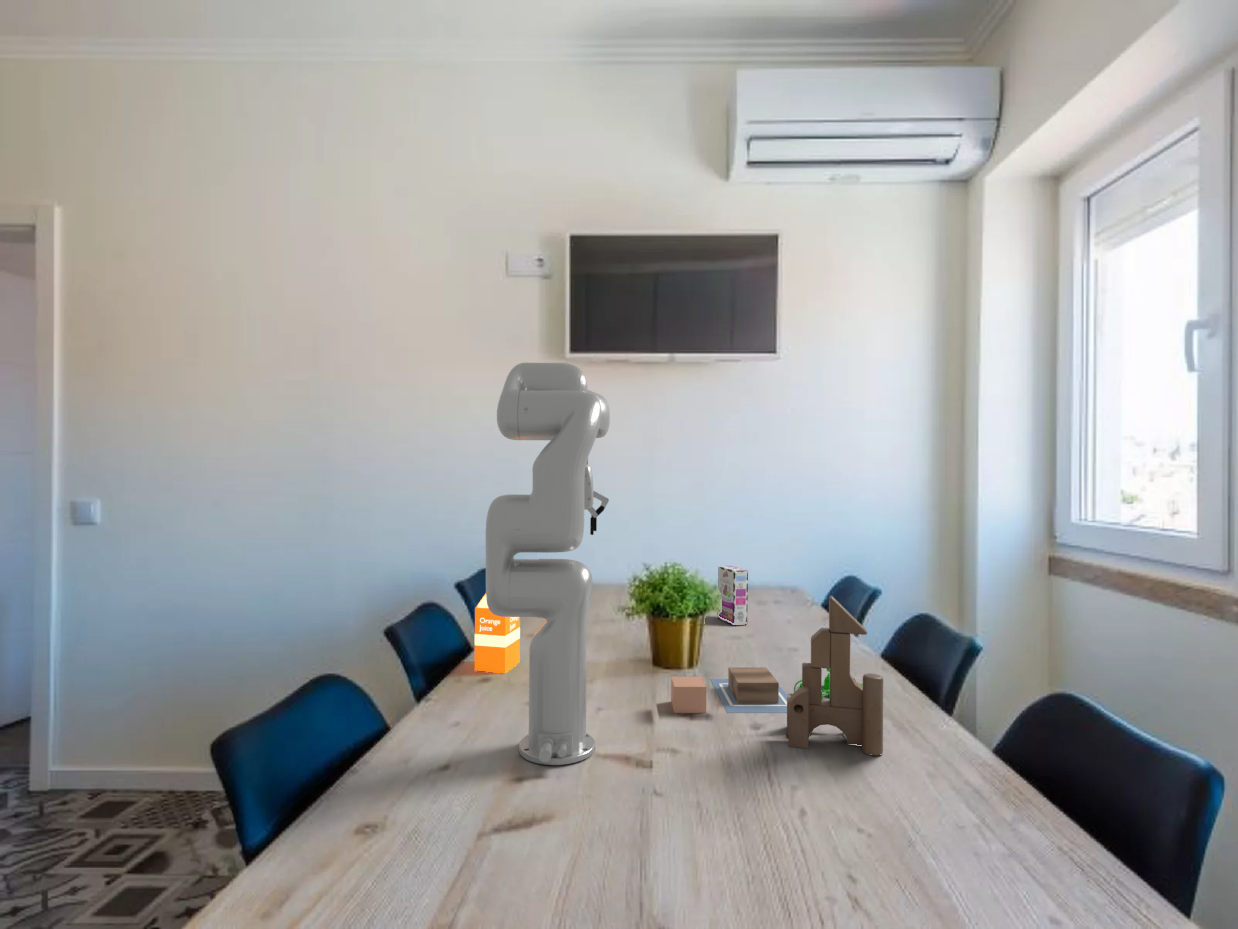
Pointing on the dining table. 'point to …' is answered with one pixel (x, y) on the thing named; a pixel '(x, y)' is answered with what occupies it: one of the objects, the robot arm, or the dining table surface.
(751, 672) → the walnut base
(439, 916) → the dining table surface
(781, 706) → the blueprint board
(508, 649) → the orange juice
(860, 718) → the wooden toy
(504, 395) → the robot arm
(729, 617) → the candy bar box
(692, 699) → the terracotta cube
